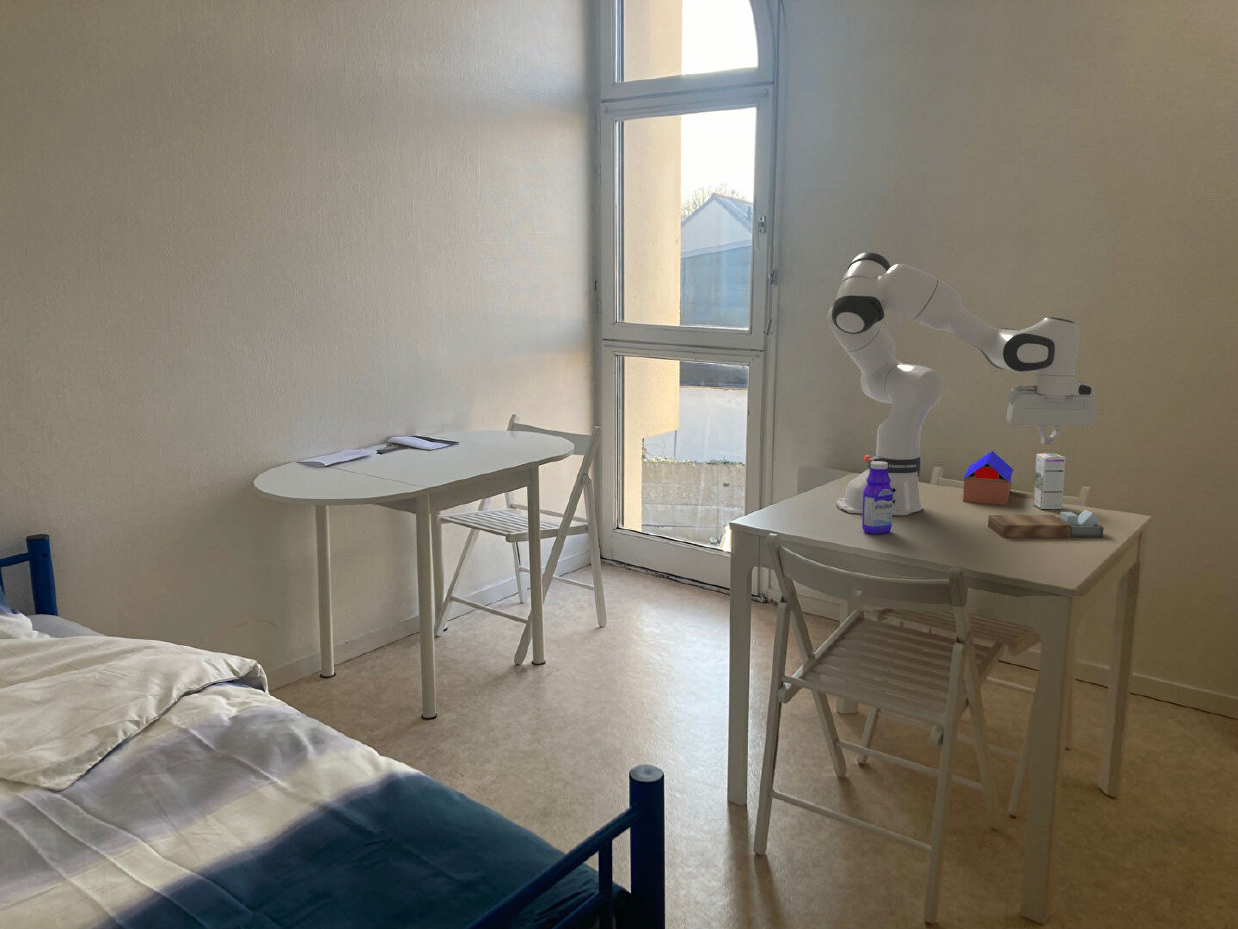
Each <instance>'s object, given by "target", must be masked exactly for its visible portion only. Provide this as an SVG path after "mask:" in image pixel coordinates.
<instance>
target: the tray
mask: <svg viewBox="0 0 1238 929" xmlns="http://www.w3.org/2000/svg"><path fill="white" fill-rule="evenodd" d="M1057 517H1058V518H1059V519H1060V516H1057ZM1104 528H1105V527H1104V526H1103V525H1101V524H1098V522H1097V523H1096V524H1095V525H1094V526H1078V525H1077V526H1071V533H1070V537H1069V538H1103V537H1104V536H1103V535H1104Z"/></svg>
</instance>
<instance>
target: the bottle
mask: <svg viewBox="0 0 1238 929" xmlns="http://www.w3.org/2000/svg"><path fill="white" fill-rule="evenodd" d="M866 481H867V485H866V487H865V489H864V492H863V514H861V515H862V519H861V520H862V522H861V526H862V531H864V532H865V533H866V534H867V533H868V534H870V535H880V534H881V535H882V534H885V533H889V532H891V529H892V526H893V524H892V523H893V515H892V506H893V490H892V488H891V486H890V482H891V479H890V478H889V475H888V463H887V462H883V461H874V462H871V466H870V473H869V476H868V478H867V479H866Z"/></svg>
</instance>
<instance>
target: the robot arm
mask: <svg viewBox="0 0 1238 929" xmlns="http://www.w3.org/2000/svg"><path fill="white" fill-rule="evenodd" d="M885 311H895V312H897V313H900V314H902V315H903V316H905V317H907V318H908V319H910V320H912V321H914V323H915V322H916V323H918V324H919V325H922V326H925V327H927V328H929V329H933V330H935V331H936V330H937V331H940V332H941V331H942V332H948V333H950V334H953V335H955V336H956V337H958V338H960V339H961V340H963V341H965V342H966V343H969V344H970V345H972V346H973V347H975V348H977V350H979V351H980V352H981V353H982V354H983V356H984V357H985V359H986V360H987V362H988V363H989V364H990V365H991V366H993V367H995V368H996V369H1000V370H1007V371H1011V372H1017V373H1026V372H1030V371H1035V373H1034V382H1033V385H1025V386H1023V385H1017V386H1015V387H1014V388H1012V389H1011V390H1009V394H1008V396H1009V398H1008V400H1009V403H1008V405H1007V406H1008V407H1007V412H1006V421H1007V422H1008V423H1009V424H1011V425H1013V426H1014V425H1015V426H1021V425H1022V426H1037V431H1038V433H1039V435H1040V443H1041V444H1042V445H1056V444H1057V438H1058V436H1059V435H1060V434H1061V432H1062V431H1063V426H1065V427H1066V426H1068V427H1069V426H1071V427H1077V426H1078V427H1092V426H1093V425H1094V424H1095V423H1096V421H1097V408H1098V407H1097V401H1096V398H1095V397H1094V396H1095V394H1096V390H1097V389H1096V387H1095V386H1092V385H1090V384H1086V383H1084V382H1083V381H1079V380H1076V375H1077V373H1076V362H1077V360H1078V357H1079V349H1080V348H1079V344H1080V331H1079V327H1078V325H1077V324H1076V322H1074V321H1073V320H1069V319H1064V318H1059V317H1056V316H1055V317H1054V316H1047V317H1044V318H1043V319H1042V320H1041V321H1039V322H1037V323H1035V324H1034V325H1031V326H1028V327H1027V328H1024V329H1020V330H1017V329H1014V328H1008V327H1007V328H1006V327H997V326H993V325H992V324H990V323H989V322H987V321H985V320H984V319H982V318H980V317H978V316H976V315H975V314H973V313H971V312H970V311H969V310H967V309H966V308H965V306H964V304H963V298H962V295H961V293H959V292H958V291H957V290H956V289H955V288H953V287H952V286H951V285H950V284H948V283H947V282H945V281H943V280H942V279H940V278H938V277H936V276H934V275H932V274H930V273H929V272H926V271H924V270H922V269H919V268H917V267H914V266H911V265H908V264H904V263H897V264H894V265H893V266H891V264H890V262H889V261H888V259H887V258H885V257H884V256H883V255H881V254H878V253H875V252H868V251H867V252H863V253H859V254H858V255H857V256H856V257H855V258H853V260H852V261H851V263H849V265H848V267H847V270H846V272H845V274H844V276H843V278H842V279H841V282H840V285H839V289H838V292H837V294H836V297H835V301H834V302H833V304H832V306H831V307H830V308H829V310H828V312H827V314H826V322H827V325H828V327H829V329H830V331H831V333H832V334H833V336H834V338H835V339H836V341H837V342H838V344H839V345H840V346H841V348H842V349H843V350H844V352H845V353H846V354H847V355H848V356H849V358H851V360H852V361H853V363H854V364H855V365H856V366H857V367H858V369H859V371H860V372H861V376H860V389H861V391H862V392H863V394H864V395H865V396H867V397H868V398H871V399H873V400H874V401H876V402H879V403H884V404H890V405H891V409H890V413H889V415H888V417H887V418H886V420H884V421H882V422H881V423H879V425H878V427H877V434H876V453H875V454H874V455H872V456H871V455H870V454H865V455H864V457H863V461H864V463H867V467H868V468H867V469H866V470H864V471H863V472H862V473H860V474H859V475H857V476H856V477H855V478H852V479H851V480H850V481H849V482H848V484H847V486H846V489H845V493H844V494H845V495H844V497H840V498H838V499H836V503H837V505H838V507H839V508H838V507H837V508H838V509H839V510H841V509H843V510H845V511H847V512H846V513H850V514H861V515H863V492H864V489H865V487H866V485H867V481H866V479H867V478H868V476H869V473H870V466H871V462H874V461H883V462H887V463H888V475H889V478H890V479H891V482H890V486H891V488H892V490H893V506H892V516H909V515H911V514H912V513H913V514H914V513H916V512H920V511H922V510H923V506H922V502H921V496H920V486H919V478H920V474H921V464H922V463H921V457H920V445H921V444H920V443H921V435H922V434H921V433H922V428H923V425H924V422H925V419H926V417H927V415H928V413H929V411H930V410H931V409H932V408H933V407H934V406H936V405H937V404H938V403H939V402H940V401H941V399H942V397H943V395H944V391H945V381H944V377H943V376H942V375H941V374H940V372H938V371H936V370H934V369H932V368H929V367H927V366H925V365H918V364H908V363H904V362H901V361H900V360H898V358H896V356H895V352H896V348H897V346H896V342H895V339H894V338H893V337H892V336H891V335H890V333H889V332H888V331H887V330H886V329H885V327H884V326H883V325H882V323H881V322H880V321H882V320H883V319H884V318H885ZM1048 426H1052V429H1053V431H1052V433H1051V434H1050V435H1047V433H1046V431H1047V429H1048ZM837 505H836V506H837ZM843 510H842V511H843ZM845 511H844V512H845Z"/></svg>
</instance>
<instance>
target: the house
mask: <svg viewBox="0 0 1238 929" xmlns="http://www.w3.org/2000/svg"><path fill="white" fill-rule="evenodd" d="M1013 472H1014V469H1013V468H1012V467H1011V466H1010V465H1009V464H1008V463H1007V462H1006V461H1005V460H1004V459H1002V458H1001V457H1000V456H999V455H998V454H997V453H996V452H994V450H991V451H990V452H989V453H987V454H985V455H984V456H982V457H981V458H979V459H978V460H977V461H975V462H973V463H972V464H970V465H969V466H968V469H967V470H966V473H965V474H964V477H963V478H962V479H963V480H964V481H963V496H962V502H965V503H977V504H986V503H990V504H989V505H997V504H1002V505H1001V506H1007V504H1008V502H1009V498H1008V497H1010V493H1011V484H1012V475H1013ZM1007 501H1008V502H1007ZM1004 504H1005V505H1004Z"/></svg>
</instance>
